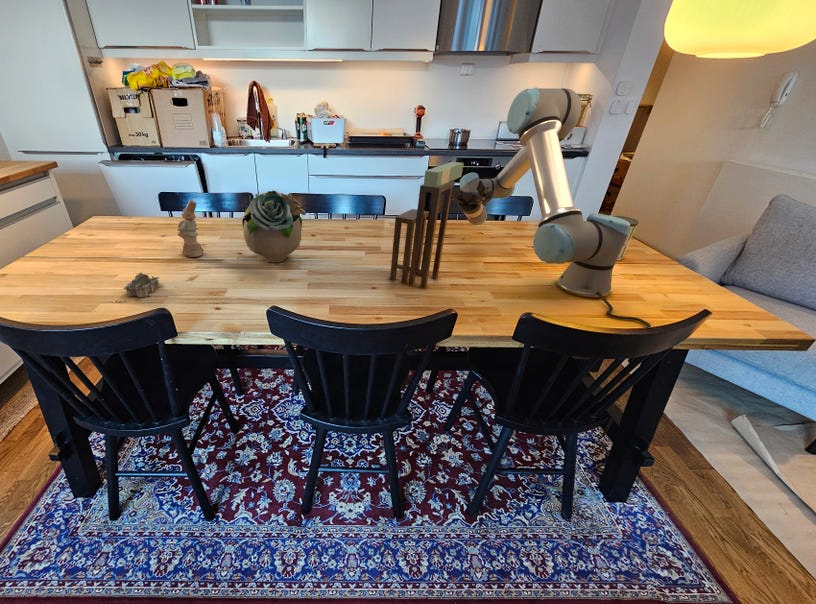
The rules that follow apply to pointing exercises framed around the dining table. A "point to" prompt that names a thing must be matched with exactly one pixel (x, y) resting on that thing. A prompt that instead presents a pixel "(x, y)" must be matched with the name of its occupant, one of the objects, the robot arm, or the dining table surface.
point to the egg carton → (142, 285)
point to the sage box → (443, 174)
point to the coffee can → (633, 225)
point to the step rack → (421, 236)
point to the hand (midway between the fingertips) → (459, 182)
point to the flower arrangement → (273, 225)
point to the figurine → (189, 231)
